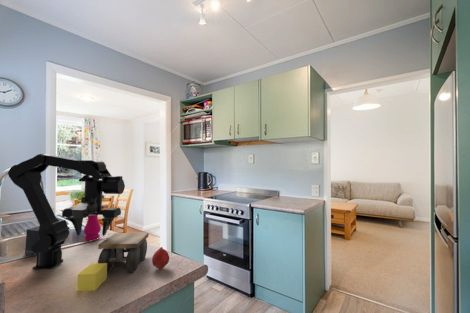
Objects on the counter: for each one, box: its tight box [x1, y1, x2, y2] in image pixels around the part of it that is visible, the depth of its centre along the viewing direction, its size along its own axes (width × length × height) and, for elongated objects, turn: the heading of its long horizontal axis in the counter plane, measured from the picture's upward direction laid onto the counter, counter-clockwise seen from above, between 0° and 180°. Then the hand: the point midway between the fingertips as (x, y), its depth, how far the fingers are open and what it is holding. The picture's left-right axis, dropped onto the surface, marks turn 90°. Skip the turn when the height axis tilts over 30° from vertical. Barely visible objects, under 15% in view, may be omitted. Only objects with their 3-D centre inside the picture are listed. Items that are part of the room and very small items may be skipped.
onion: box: [151, 246, 170, 271], centre depth 78 cm, size 6×6×8 cm
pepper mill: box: [83, 215, 102, 242], centre depth 108 cm, size 7×7×20 cm
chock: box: [76, 262, 108, 292], centre depth 68 cm, size 5×7×5 cm
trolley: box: [97, 232, 149, 273], centre depth 80 cm, size 13×16×10 cm
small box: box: [24, 225, 62, 257], centre depth 93 cm, size 11×6×10 cm, turn 168°
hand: (91, 235), depth 81 cm, fingers open, 9 cm apart
